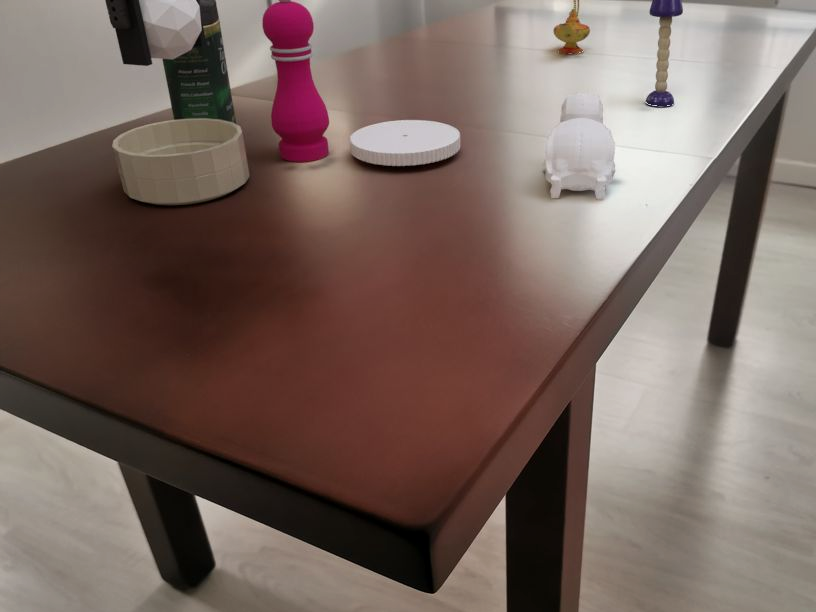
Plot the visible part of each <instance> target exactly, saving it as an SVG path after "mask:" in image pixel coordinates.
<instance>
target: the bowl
mask: <svg viewBox="0 0 816 612" xmlns="http://www.w3.org/2000/svg"><path fill="white" fill-rule="evenodd" d="M111 147H112V150H113V155H114V159H115V163H116V166H117V169H118V170H117V171H118V174H119V178H120V182H121V185H122V190H123V192H124V194H126V195H127V196H128V198H130V199H133V200H136V201H139V202H140V203H141V202H142V203H147V204H150V205H158V206H185V205H192V204H193V205H194V204H199V203H204V202H208V201H211V200H215V199H218V198H222V197H224V196H226V195H229V194H230V193H232V192H234V191H235V190H237V189H239V188H240V187H242V186H243V185H245V184H246V183H247V181H248V179H249V178H250V170H249V164H248V157H247V151H246V146H245V140H244V135H243V130H242V127H241V126H240V125H238V124H237V123H236V124H235V123H233V122H229V121H225V120H220V119H207V118H195V119H179V120H174V119H170V120H163V121H158V122H153V123H149V124H148V123H147V124H145V125H142V126H137V127H135V128H132V129H129V130H127V131H125V132H123V133H120V134H119V135H118V136H116V138H114V139H113V140H112V146H111Z"/></svg>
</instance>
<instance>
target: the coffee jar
mask: <svg viewBox="0 0 816 612" xmlns="http://www.w3.org/2000/svg"><path fill="white" fill-rule="evenodd" d="M200 11H201V17H202V22H203V28H204V34H205V39H206V46H203V47H196V46H193V47H192V49H191V50H190V51H188V52H186V53H184V54H182V55H180V56H178V57H177V58H175V59H161V61H162V64H163V70H164V75H165V80H166V86H167V91H168V96H169V101H170V107H171V111H172V118H173V120H179V119H195V118H207V119H220V120H225V121H229V122H233V123H235V124H237V119H236V112H235V107H234V102H233V96H232V95H233V94H232V90H231V84H230V83H231V82H230V76H229V71H228V64H227V59H226V52H225V47H224V46H225V45H224V40H223V33H222V27H221V21H220V15H219V11H218V5H217V0H200Z"/></svg>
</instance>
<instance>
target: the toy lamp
mask: <svg viewBox="0 0 816 612" xmlns="http://www.w3.org/2000/svg"><path fill="white" fill-rule="evenodd" d="M683 13H684V7H683V0H652V1H651V5H650V8H649V15H650V16H651V17H655V18H659V20H658V21H659V22H658V24H659V26H660V27H658V37H659V38H658V39H657V48H658V49H657V51H656V58H657V60H656V63H655V64H656V65H655V67H656V72H655V80H656V81H655V84H654V89H655V90H653V91H652V92H650V93H648V95H647V96H646V99H645V102H647V103H648V104H651V105H657V106H666V107H665V108H668V107H670V108H671V107H672V106H673V105H675V99H674V96H673V94H672V93H671V92H670V91H669V90H668V82H667V80H668V77H669V72H668V69H669V66H670V62H669V58H670V49H669V48H670V47H671V38H670V37H671V34H672V27H671V26H672V23H673V18H674V17H679V16H681V15H683ZM645 102H644V103H645ZM648 104H646V103H645V105H646V106H648V107H653V108H658V107H657V106H651V105H648ZM672 104H673V105H672ZM667 105H671V106H667Z"/></svg>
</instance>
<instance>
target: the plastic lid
mask: <svg viewBox="0 0 816 612" xmlns="http://www.w3.org/2000/svg"><path fill="white" fill-rule="evenodd" d="M349 147H350V154H351V155H352V156H353V157H354V158H356V159H357V160H359V161H362V162H366V163H369V164H373V165H380V166H381V165H382V166H388V167H389V166H392V167H395V166H396V167H401V166H402V167H405V166H408V167H409V166H417V165H418V166H420V165H426V164H430V163H432V164H433V163H435V162H439V161H443V160H446V159H448V158H450V157H453V156H455V155H456V154H457V153H458V152H459V151H460V149H461V132H460V130H458V128H456V127H454V126H452V125H451V124H450V125H449V124H446V123H444V122H443V123H442V122H439V121H434V120H425V119H423V120H422V119H401V120H399V119H398V120H397V119H396V120H391V121H390V120H388V121H383V122H378V123H374V124H370V125H367V126H364V127H361V128H358V130H355V131H354V132H353V133H351V134H350V136H349Z"/></svg>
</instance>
